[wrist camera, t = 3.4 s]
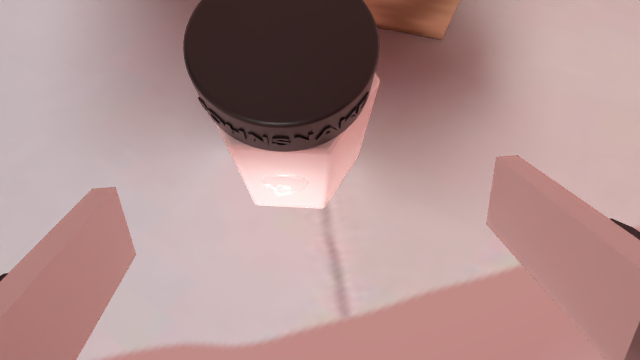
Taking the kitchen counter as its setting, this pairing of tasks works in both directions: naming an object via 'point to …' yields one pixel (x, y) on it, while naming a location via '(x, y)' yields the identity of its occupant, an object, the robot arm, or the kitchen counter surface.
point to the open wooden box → (414, 15)
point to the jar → (286, 90)
